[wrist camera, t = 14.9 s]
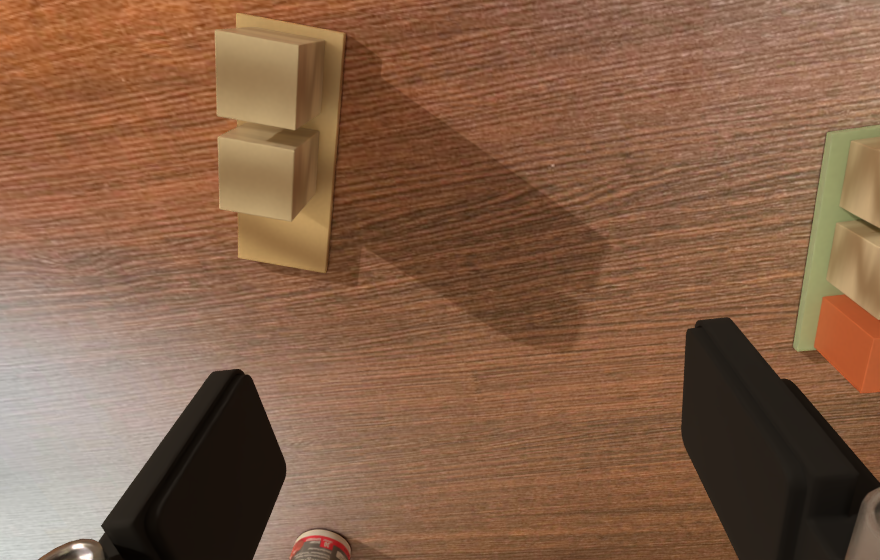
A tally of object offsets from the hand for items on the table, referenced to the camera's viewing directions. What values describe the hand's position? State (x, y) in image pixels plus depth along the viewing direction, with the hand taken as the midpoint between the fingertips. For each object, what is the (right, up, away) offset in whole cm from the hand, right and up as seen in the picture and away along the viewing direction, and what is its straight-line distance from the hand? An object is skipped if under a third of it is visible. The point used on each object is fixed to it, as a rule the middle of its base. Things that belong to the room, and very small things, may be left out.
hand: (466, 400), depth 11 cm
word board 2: (+26, +5, +22) cm, 34 cm away
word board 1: (-10, +10, +21) cm, 26 cm away
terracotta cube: (+27, 0, +24) cm, 36 cm away
